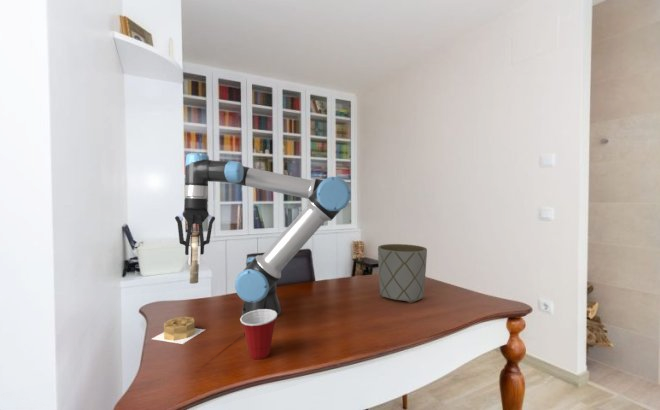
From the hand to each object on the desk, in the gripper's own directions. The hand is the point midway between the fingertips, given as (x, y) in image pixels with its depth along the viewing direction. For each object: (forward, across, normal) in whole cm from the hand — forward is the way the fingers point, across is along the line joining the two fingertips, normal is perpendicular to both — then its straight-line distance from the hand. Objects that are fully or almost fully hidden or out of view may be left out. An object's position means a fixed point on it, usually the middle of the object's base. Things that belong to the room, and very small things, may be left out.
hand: (194, 263), depth 112 cm
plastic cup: (+22, -20, +28) cm, 41 cm away
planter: (+21, -92, -6) cm, 94 cm away
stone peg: (+7, 0, 0) cm, 7 cm away
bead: (+22, +4, +7) cm, 23 cm away
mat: (+23, +4, +7) cm, 24 cm away
